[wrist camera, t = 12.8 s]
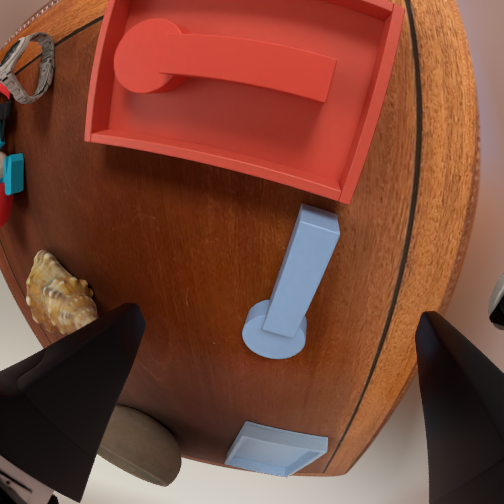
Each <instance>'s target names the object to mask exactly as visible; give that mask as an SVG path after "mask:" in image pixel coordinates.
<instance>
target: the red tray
mask: <svg viewBox="0 0 504 504" xmlns="http://www.w3.org/2000/svg"><path fill="white" fill-rule="evenodd" d="M404 13H405V8H403V7H400V6H398V5H396V4H393V3H391V2H388V1H386V0H109V1H108V5H107V8H106V11H105V15H104V18H103V22H102V26H101V30H100V34H99V38H98V43H97V47H96V52H95V57H94V63H93V68H92V74H91V81H90V88H89V96H88V104H87V114H86V126H85V141H86V142H93V143H100V144H107V145H113V146H119V147H125V148H131V149H136V150H142V151H147V152H152V153H157V154H162V155H167V156H172V157H177V158H182V159H186V160H191V161H195V162H200V163H204V164H208V165H212V166H216V167H221V168H225V169H229V170H233V171H236V172H240V173H244V174H248V175H252V176H255V177H259V178H263V179H266V180H270V181H273V182H277V183H280V184H284V185H287V186H291V187H294V188H297V189H300V190H304V191H307V192H310V193H313V194H316V195H320V196H323V197H326V198H329V199H332V200H335V201H339V202H341V203H344V204H346V205H350V202H351V199H352V197H353V194H354V191H355V188H356V186H357V183H358V180H359V177H360V174H361V171H362V169H363V166H364V163H365V160H366V157H367V154H368V151H369V148H370V145H371V141H372V138H373V135H374V132H375V129H376V125H377V122H378V119H379V116H380V112H381V109H382V105H383V102H384V98H385V95H386V91H387V87H388V83H389V80H390V76H391V72H392V68H393V64H394V60H395V55H396V51H397V47H398V42H399V38H400V33H401V28H402V23H403V18H404ZM154 18H161V19H166V20H169V21H171V22H173V23H176V24H178V25H180V26H182V27H184V28H185V29H187V30H188V31H189V32H190V33H191V34H204V35H217V36H228V37H236V38H244V39H251V40H258V41H264V42H269V43H275V44H280V45H285V46H289V47H294V48H298V49H302V50H306V51H310V52H314V53H318V54H321V55H325V56H328V57H332V58H335V59H337V64H336V68H335V71H334V75H333V79H332V82H331V86H330V90H329V94H328V97H327V101H326V103H325V104H319V103H316V102H312V101H309V100H305V99H302V98H298V97H294V96H290V95H286V94H282V93H278V92H274V91H270V90H265V89H260V88H256V87H251V86H245V85H240V84H234V83H228V82H222V81H215V80H208V79H200V78H191V77H188V78H187V79H186V80H185V81H184V82H183V83H182V84H181V85H179V86H178V87H177V88H175V89H173V90H171V91H168V92H165V93H154V94H138V93H133V92H130V91H128V90H127V89H125V88H124V87H123V86H122V85H121V84H120V83H119V81H118V79H117V78H116V75H115V71H114V56H115V52H116V49H117V47H118V45H119V43H120V41H121V39H122V38H123V37H124V35H125V34H126V33H127V32H128V31H129V30H130V29H131V28H132V27H134V26H135V25H137V24H138V23H140V22H143V21H145V20H149V19H154Z"/></svg>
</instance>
